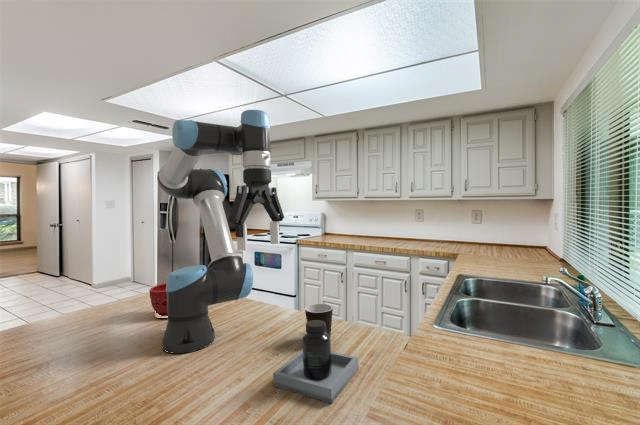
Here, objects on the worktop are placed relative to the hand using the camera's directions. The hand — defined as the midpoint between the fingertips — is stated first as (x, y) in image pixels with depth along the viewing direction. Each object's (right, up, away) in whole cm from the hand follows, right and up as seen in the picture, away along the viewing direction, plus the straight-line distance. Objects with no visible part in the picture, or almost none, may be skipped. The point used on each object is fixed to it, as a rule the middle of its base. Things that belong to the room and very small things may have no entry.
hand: (259, 246), depth 84 cm
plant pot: (-44, -32, +39) cm, 67 cm away
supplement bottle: (+16, -30, -10) cm, 35 cm away
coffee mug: (+17, -30, +12) cm, 37 cm away
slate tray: (+16, -30, -10) cm, 36 cm away
